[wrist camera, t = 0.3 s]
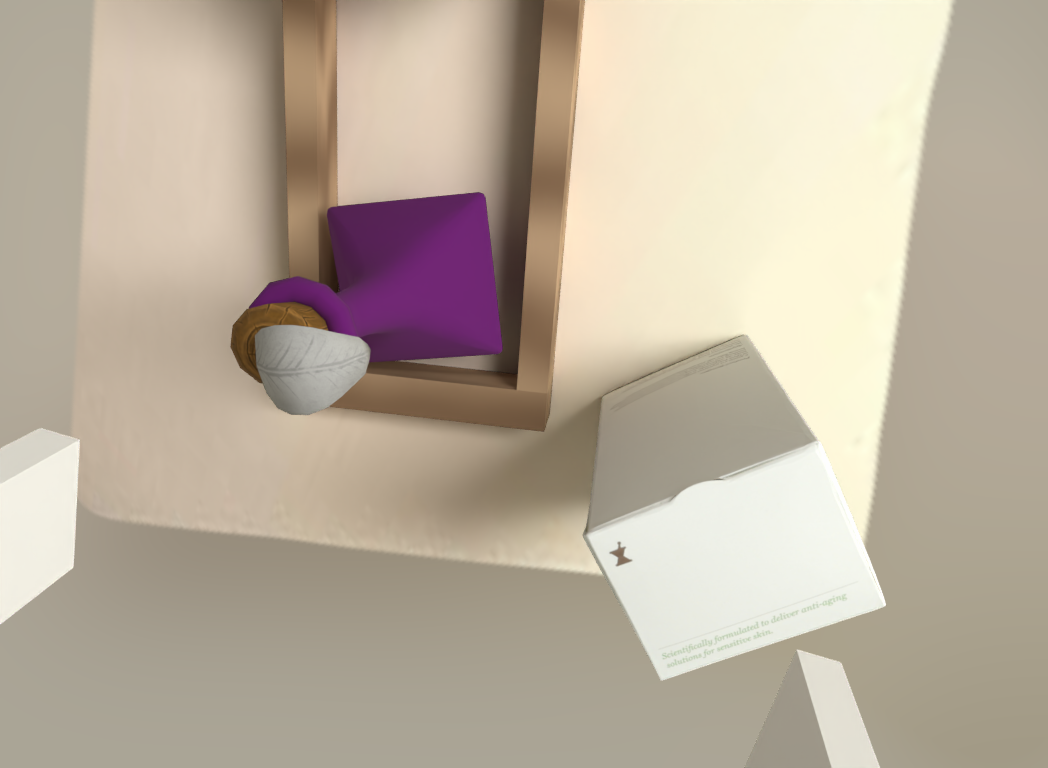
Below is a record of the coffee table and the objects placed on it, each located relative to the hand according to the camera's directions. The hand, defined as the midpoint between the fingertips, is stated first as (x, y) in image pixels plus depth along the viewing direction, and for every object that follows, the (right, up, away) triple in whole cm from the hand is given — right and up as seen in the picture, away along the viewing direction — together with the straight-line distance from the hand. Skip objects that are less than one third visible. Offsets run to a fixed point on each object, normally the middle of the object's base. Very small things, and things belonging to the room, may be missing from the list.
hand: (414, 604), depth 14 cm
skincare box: (+11, +2, +26) cm, 28 cm away
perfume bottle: (-3, +10, +26) cm, 28 cm away
